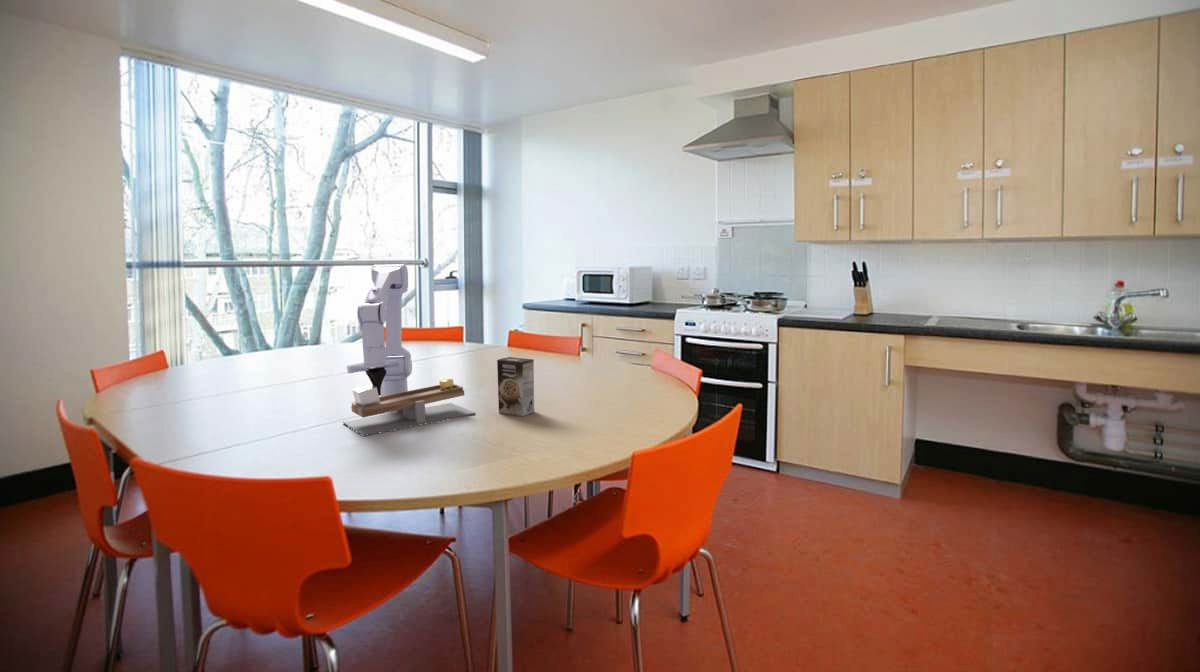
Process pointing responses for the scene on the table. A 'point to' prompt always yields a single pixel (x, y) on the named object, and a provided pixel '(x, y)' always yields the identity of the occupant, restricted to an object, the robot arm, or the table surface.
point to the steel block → (366, 396)
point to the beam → (407, 400)
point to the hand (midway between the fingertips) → (377, 395)
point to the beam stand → (408, 417)
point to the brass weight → (446, 384)
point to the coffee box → (515, 386)
